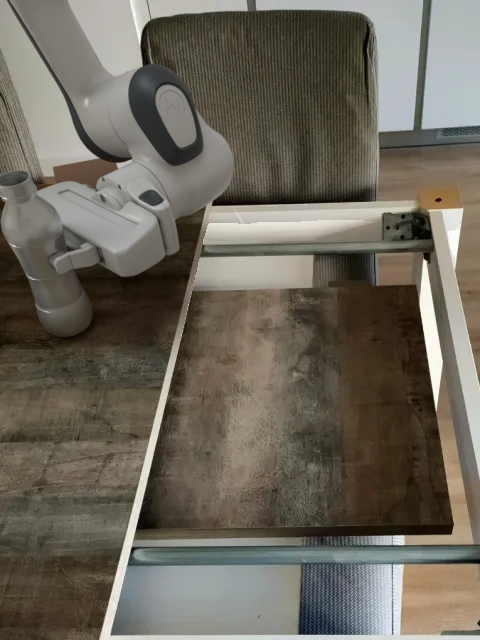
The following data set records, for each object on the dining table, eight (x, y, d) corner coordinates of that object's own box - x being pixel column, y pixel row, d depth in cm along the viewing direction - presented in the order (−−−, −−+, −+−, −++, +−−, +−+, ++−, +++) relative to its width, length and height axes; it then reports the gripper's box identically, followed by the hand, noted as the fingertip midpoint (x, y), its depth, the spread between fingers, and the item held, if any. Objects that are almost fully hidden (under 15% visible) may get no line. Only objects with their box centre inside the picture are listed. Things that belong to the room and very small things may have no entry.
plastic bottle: (35, 340, 82) (-33, 191, 68) (62, 307, 87) (3, 161, 72) (82, 347, 81) (23, 197, 66) (106, 313, 86) (56, 166, 71)
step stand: (75, 245, 97) (57, 194, 91) (69, 215, 103) (52, 166, 97) (136, 232, 99) (122, 182, 93) (126, 204, 105) (113, 155, 99)
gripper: (72, 159, 85) (-24, 203, 78) (178, 208, 76) (80, 263, 69) (86, 204, 89) (-3, 249, 82) (188, 255, 80) (97, 311, 73)
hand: (35, 256), depth 75 cm, fingers closed on plastic bottle, 6 cm apart
